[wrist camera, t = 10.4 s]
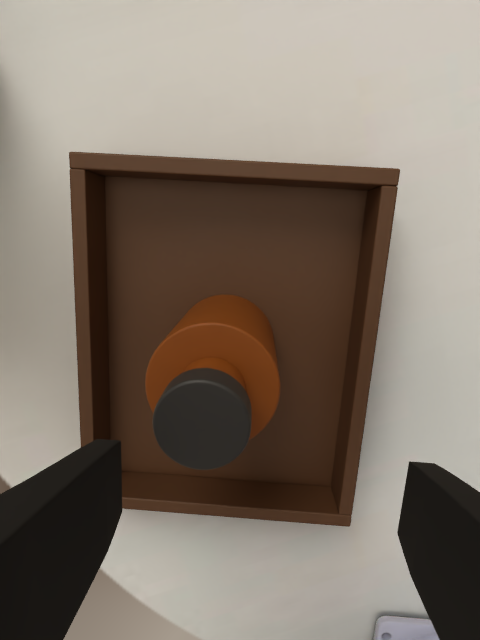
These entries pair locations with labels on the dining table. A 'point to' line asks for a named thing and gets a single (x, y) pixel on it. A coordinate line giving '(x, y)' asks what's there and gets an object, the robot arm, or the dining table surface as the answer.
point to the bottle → (213, 382)
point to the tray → (244, 281)
